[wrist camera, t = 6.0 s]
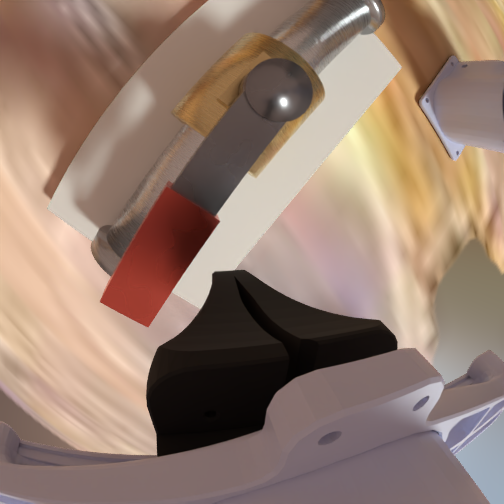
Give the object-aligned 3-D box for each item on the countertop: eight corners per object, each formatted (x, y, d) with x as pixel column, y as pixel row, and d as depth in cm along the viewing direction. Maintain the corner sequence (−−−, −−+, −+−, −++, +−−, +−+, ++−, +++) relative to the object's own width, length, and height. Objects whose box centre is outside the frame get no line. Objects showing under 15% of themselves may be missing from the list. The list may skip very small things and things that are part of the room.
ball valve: (308, -12, 15) (356, -54, 8) (362, 38, 17) (424, 16, 11) (97, 225, 19) (61, 270, 12) (165, 270, 21) (161, 330, 14)
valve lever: (263, 55, 10) (275, 45, 9) (309, 92, 11) (325, 88, 10) (105, 283, 12) (97, 300, 11) (152, 308, 13) (150, 328, 12)
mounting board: (273, -41, 14) (279, -49, 13) (391, 69, 20) (402, 67, 18) (54, 203, 18) (46, 208, 17) (200, 299, 24) (201, 309, 22)
